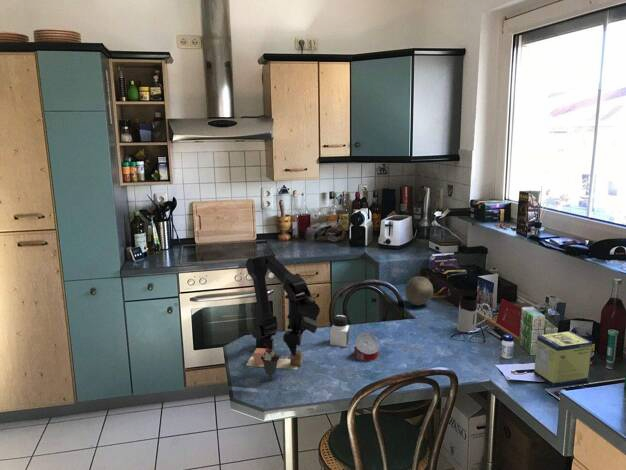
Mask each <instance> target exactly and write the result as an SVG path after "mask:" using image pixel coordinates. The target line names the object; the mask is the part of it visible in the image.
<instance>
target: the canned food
mask: <svg viewBox="0 0 626 470" xmlns="http://www.w3.org/2000/svg"><path fill="white" fill-rule="evenodd" d="M379 349H380V344H379V341H378V339H377V338H376V337H375V335H374V334H373V333H371V332H367V331H366V332H362V333H361V334H359V335H357V336H356V338H355V344H354V348H353V350H354V351H353V356H354V358H356V359H357V360H360V361H363V362H364V361H365V362H369V361H375V360H377V359H378V358H379Z"/></svg>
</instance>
